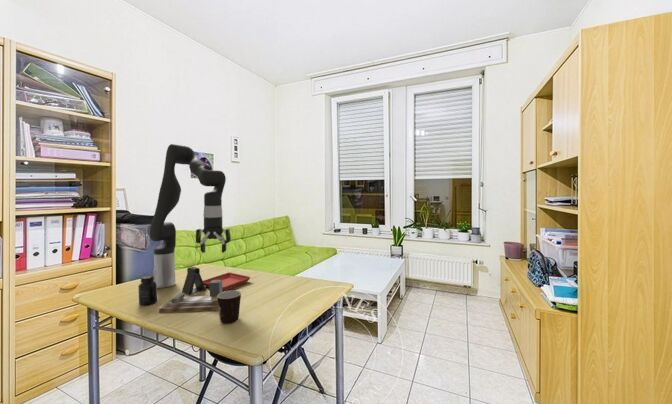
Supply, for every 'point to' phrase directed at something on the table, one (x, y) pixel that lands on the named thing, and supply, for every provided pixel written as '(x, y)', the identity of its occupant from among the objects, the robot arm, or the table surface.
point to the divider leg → (215, 289)
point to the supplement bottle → (147, 291)
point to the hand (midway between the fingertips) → (213, 252)
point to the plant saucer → (228, 280)
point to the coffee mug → (229, 306)
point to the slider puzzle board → (189, 304)
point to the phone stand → (193, 281)
